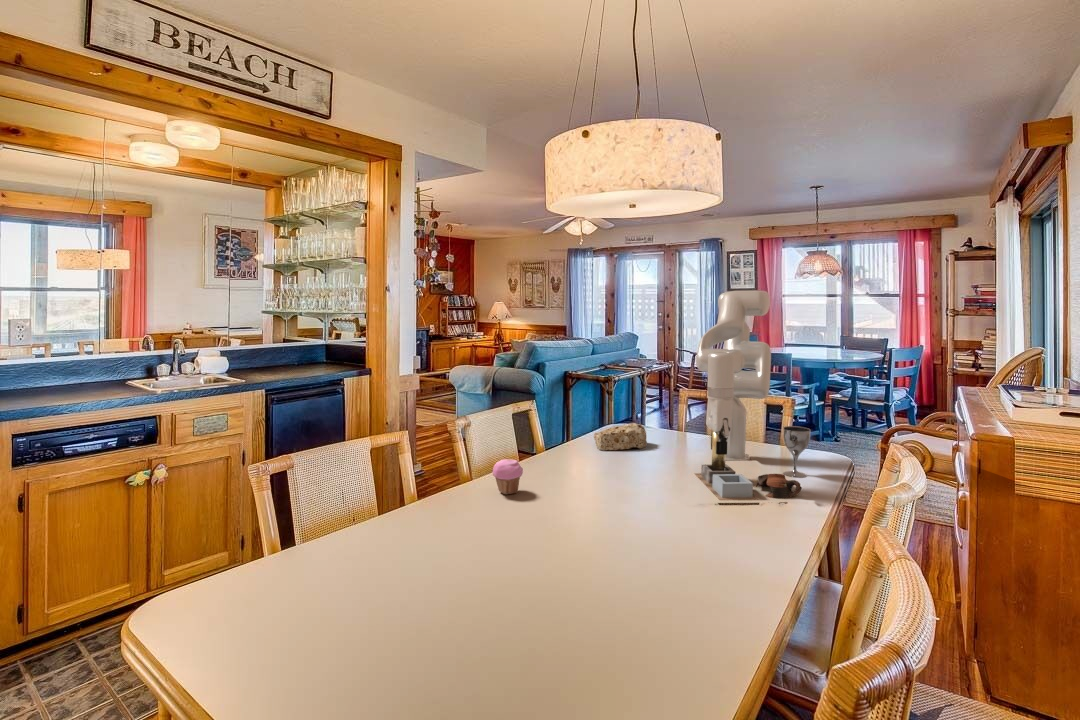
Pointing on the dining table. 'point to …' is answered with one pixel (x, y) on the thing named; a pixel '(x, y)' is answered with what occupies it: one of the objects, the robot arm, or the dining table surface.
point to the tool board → (707, 479)
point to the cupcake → (507, 475)
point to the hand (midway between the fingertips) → (718, 451)
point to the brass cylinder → (717, 460)
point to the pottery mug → (779, 486)
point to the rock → (621, 437)
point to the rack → (732, 486)
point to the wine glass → (796, 445)
